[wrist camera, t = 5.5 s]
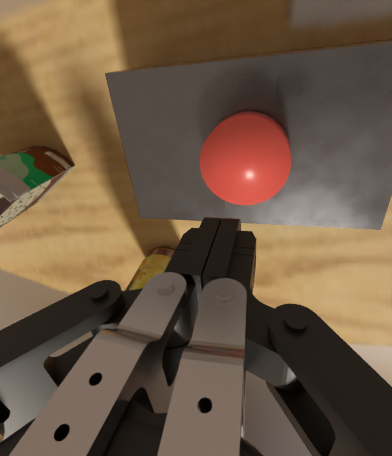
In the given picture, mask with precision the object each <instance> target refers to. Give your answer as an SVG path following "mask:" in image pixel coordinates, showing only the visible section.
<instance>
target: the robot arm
mask: <svg viewBox="0 0 392 456" xmlns="http://www.w3.org/2000/svg"><path fill="white" fill-rule="evenodd" d="M255 268H256V238H255V236H254V234H253V233H252V231H241V220H240V219H234V218H212V217H204V218H203V221H202V223H201V225H200V227H199V228H191V229H190V230H188V231H187V232H186V233H185V234H183V236H182V238H181V240H180V242H179V244H178V246H177V248H176V251H175V252H174V254H173V256H172V258H171V259H170V261H169V263H168V265H167V267H166V269H165V271H164V273H161V274H158V275H156V276H154V277H152V278H151V279H150V280H149V281H148V282H147V283H146V285H145V286H144V288H141V289H135V290H127V291H122V290H121V287H120V285H119V284H118V283H117V282H115V281H111V280H103V281H99V282H96V283H94V284H91V285H89V286H88V287H86V288H84V289H82V290H80V291H78V292H76V293H74V294H72V295H70V296H68V297H66V298H64V299H62V300H60V301H58V302H56V303H54V304H52V305H50V306H48V307H46V308H44V309H42V310H40V311H38V312H36V313H34V314H32V315H30V316H28V317H26V318H24V319H22V320H20V321H18V322H16V323H14V324H12V325H10V326H8V327H6V328H4V329H2V330H0V456H263V455H262V454H261V453H260V452H259V451H258V450H257V449H256V448H255V447H254V446H253V445H251V444H250V443H249V442H248V441H246V440H245V439H244V421H245V419H244V418H245V386H246V385H245V384H246V370H247V371H249V372H251V373H252V374H254V375H256V376H258V377H260V378H261V379H263V380H265V381H266V384H267V386H268V388H269V390H270V392H271V393H272V394H273V396H274V398H275V399H276V401H277V402H278V404H279V405H280V407H281V409H282V410H283V412H284V413H285V415H286V416H287V418H288V419H289V421H290V422H291V424H292V426H293V427H294V429H295V430H296V432H297V433H298V435H299V436H300V438H301V439H302V441H303V443H304V444H305V446H306V447H307V449H308V450H309V452H310V453H311V455H312V456H392V387H391V386H390V385H389V384H388V383H387V382H386V381H385V380H384V379H383V378H382V377H381V376H380V375H379V374H378V373H377V372H376V371H375V370H374V369H373V368H372V367H371V366H369V365H368V364H367V363H366V362H365V361H364V360H363V359H362V358H361V357H360V356H359V355H358V354H357V353H356V352H355V351H354V350H353V349H352V348H351V347H350V346H349V345H348V344H347V343H346V342H345V341H344V340H343V339H342V338H340V337H339V336H338V335H337V334H336V333H335V332H334V331H333V330H332V329H331V328H330V327H329V326H328V325H327V324H326V323H325V322H324V321H323V320H322V319H321V318H320V317H319V316H318V315H317V314H315V313H314V312H313V311H312V310H310V309H309V308H306V307H304V306H301V305H297V304H284V305H281V306H278V307H276V308H275V309H274V308H272V307H269V306H267V305H265V304H263V303H261V302H260V301H258V300H257V299H256V298H255V297H254V296H253V294H252V293H253V285H254V277H255ZM89 331H91V333H92V335H93V336H92V337H91V338H89V339H87V340H86V341H84V342H82V343H81V344H79V345H77V346H76V347H74V348H72V349H71V350H69V351H67V352H66V353H64V354H62V355H60V356H58V357H50V356H49V355H51V354H52V353H54V352H55V351H57V350H59V349H61V348H62V347H64V346H66V345H67V344H69V343H71V342H72V341H74V340H76V339H78V338H79V337H81V336H83V335H85V334H86V333H88V332H89Z"/></svg>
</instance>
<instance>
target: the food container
mask: <svg viewBox="0 0 392 456" xmlns="http://www.w3.org/2000/svg"><path fill="white" fill-rule="evenodd" d="M74 166H75V165H74V164H73V163H72V162H71V161H70V160H69V159H68V158H67V157H65V156H64V155H62V154H60V153H59V152H57V151H56V150H53V149H50V148H47V147H44V146H38V147H30V148H27V149H24V150H21V151H17V152H14V153H11V154H8V155H4V156H1V157H0V228H1V227H2V226H3V225H5V224H6V223H8V222H9V221H11V220H12V219H14V218H15V217H17V216H18V215H20V214H21V213H23V212H24V211H26V210H27V209H29V208H30V207H31V206H33V205H34V204H36V203H37V202H39V201H40V200H41V199H42V198H43V197H44V196H45V195H46V194H47V193H48V192H49V191H50V190H51V189H52V188H53V187H54V186H55V185H56V184H57V183H58V182H59V181H60V180H61V179H62V178H63V177H64V176H65V175H66V174H67V173H68V172H69V171H70V170H71V169H72V168H73V167H74Z"/></svg>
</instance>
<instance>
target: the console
mask: <svg viewBox="0 0 392 456" xmlns="http://www.w3.org/2000/svg"><path fill="white" fill-rule="evenodd" d="M105 76H106V80H107V84H108V88H109V92H110V96H111V100H112V104H113V108H114V113H115V117H116V121H117V125H118V129H119V133H120V137H121V141H122V145H123V149H124V153H125V158H126V162H127V166H128V170H129V174H130V178H131V182H132V186H133V190H134V194H135V199H136V203H137V207H138V211H139V215H140V218H155V219H175V220H195V221H203V218H204V217H212V218H234V219H240V220H241V223H256V224H276V225H296V226H316V227H336V228H356V229H376V230H381V227H382V224H383V220H384V217H385V214H386V211H387V208H388V205H389V202H390V199H391V195H392V40H384V41H375V42H366V43H357V44H347V45H338V46H329V47H320V48H311V49H302V50H292V51H283V52H274V53H265V54H256V55H247V56H237V57H228V58H219V59H210V60H201V61H192V62H182V63H173V64H164V65H155V66H146V67H138V68H132V69H127V70H121V71H116V72H110V73H105ZM245 111H253V112H259V113H262V114H265V115H267V116H269V117H271V118H273V119H274V120H275V121H276V122H278V123H279V124H280V126H281V127H282V128H283V129H284V131H285V133H286V135H287V137H288V140H289V144H290V152H291V168H290V173H289V176H288V178H287V181H286V182H285V184H284V186H283V187H282V188H281V189H280V191H279V192H278V193H276V194H275V195H274V196H273V197H271V198H270V199H268V200H266V201H264V202H261V203H258V204H254V205H237V204H232V203H229V202H227V201H225V200H223V199H221V198H219V197H218V196H217V195H215V194H214V193H213V192H212V191H211V190H210V189H209V187H208V186H207V185H206V183H205V181H204V179H203V177H202V174H201V170H200V154H201V150H202V147H203V144H204V143H205V141H206V139H207V138H208V136H209V135H210V134H211V132H212V131H213V130H214V128H215V127H216V126H217V125H218V124H219V123H220V122H221V121H222V120H224V119H225V118H227V117H228V116H230V115H233V114H235V113H239V112H245Z"/></svg>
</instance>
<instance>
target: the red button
mask: <svg viewBox="0 0 392 456" xmlns="http://www.w3.org/2000/svg"><path fill="white" fill-rule="evenodd" d="M290 168H291V152H290V144H289V140H288V137H287V135H286V133H285V131H284V129H283V128H282V127H281V126H280V124H279V123H278V122H276V121H275V120H274V119H273V118H271V117H269V116H267V115H265V114H262V113H259V112H253V111H245V112H239V113H235V114H233V115H230V116H228V117H227V118H225V119H224V120H222V121H221V122H220V123H219V124H218V125H217V126H216V127H215V128H214V130H213V131H212V132H211V134H210V135H209V136H208V138H207V139H206V141H205V143H204V144H203V147H202V150H201V154H200V170H201V174H202V177H203V179H204V181H205V183H206V185H207V186H208V187H209V189H210V190H211V191H212V192H213V193H214V194H215V195H217V196H218V197H219V198H221V199H223V200H225V201H227V202H229V203H232V204H237V205H254V204H258V203H261V202H264V201H266V200H268V199H270V198H271V197H273V196H274V195H275V194H276V193H278V192H279V191H280V189H281V188H282V187H283V186H284V184H285V182H286V181H287V178H288V176H289V173H290Z"/></svg>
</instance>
